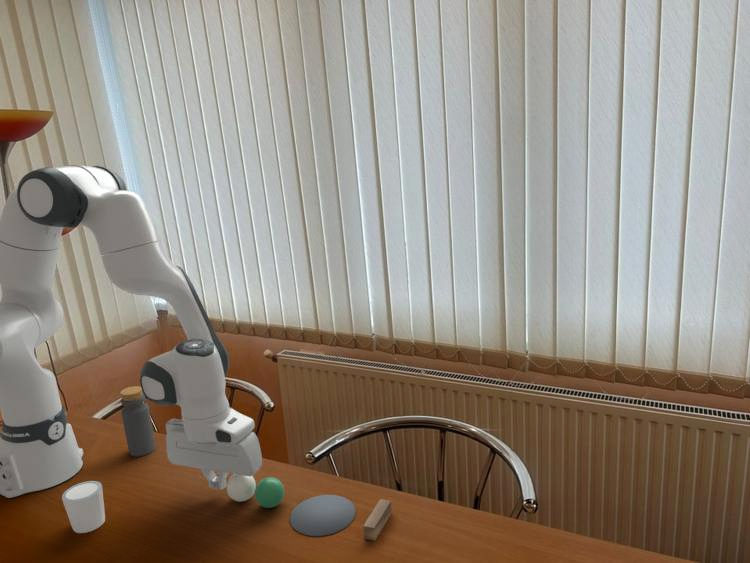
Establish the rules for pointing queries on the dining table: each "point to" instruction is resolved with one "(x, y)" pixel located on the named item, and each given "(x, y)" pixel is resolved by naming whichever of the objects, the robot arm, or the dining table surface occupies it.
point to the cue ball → (241, 487)
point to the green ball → (269, 492)
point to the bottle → (137, 422)
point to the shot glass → (85, 506)
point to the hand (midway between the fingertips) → (218, 487)
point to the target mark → (322, 515)
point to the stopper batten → (377, 519)
